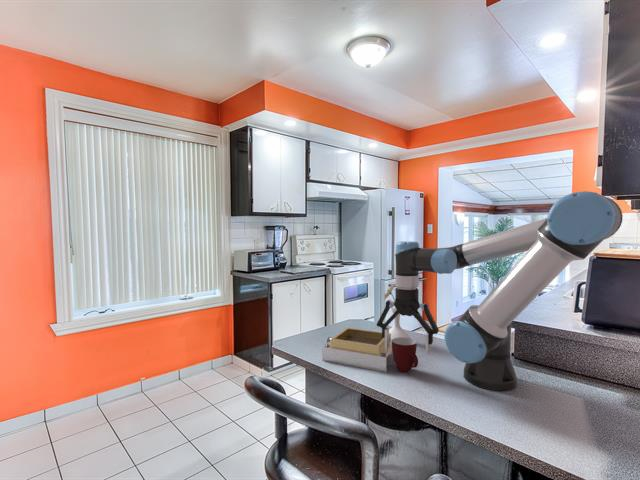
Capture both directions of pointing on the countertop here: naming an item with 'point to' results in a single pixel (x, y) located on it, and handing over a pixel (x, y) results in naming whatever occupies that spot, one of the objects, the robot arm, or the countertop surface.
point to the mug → (404, 354)
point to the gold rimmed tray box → (359, 349)
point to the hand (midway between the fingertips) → (406, 350)
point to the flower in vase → (396, 321)
